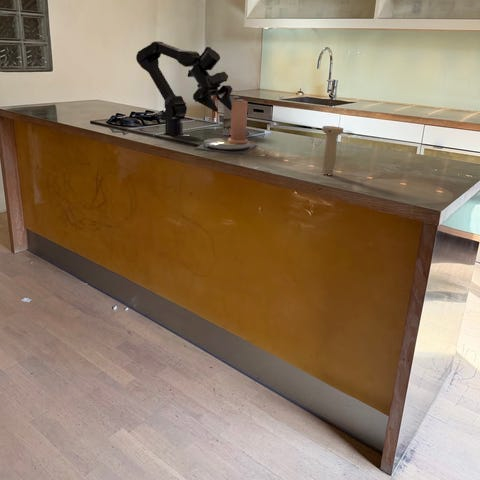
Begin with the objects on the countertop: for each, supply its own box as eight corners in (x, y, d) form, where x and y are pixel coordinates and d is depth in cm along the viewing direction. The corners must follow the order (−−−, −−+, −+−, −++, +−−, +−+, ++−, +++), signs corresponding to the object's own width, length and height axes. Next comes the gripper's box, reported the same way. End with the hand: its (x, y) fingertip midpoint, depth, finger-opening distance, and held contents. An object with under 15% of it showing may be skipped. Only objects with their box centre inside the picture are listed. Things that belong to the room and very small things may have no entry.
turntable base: (195, 149, 182) (195, 147, 181) (211, 140, 199) (211, 139, 198) (243, 154, 177) (243, 153, 177) (256, 145, 194) (256, 144, 194)
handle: (321, 171, 159) (326, 125, 153) (339, 174, 156) (345, 128, 150) (315, 174, 155) (320, 127, 149) (333, 177, 152) (339, 129, 146)
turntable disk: (197, 146, 182) (197, 144, 181) (212, 138, 198) (212, 136, 197) (242, 151, 177) (242, 149, 177) (255, 143, 193) (255, 140, 193)
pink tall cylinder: (225, 142, 186) (227, 99, 180) (231, 139, 193) (233, 98, 187) (244, 144, 185) (246, 101, 179) (249, 141, 191) (252, 99, 185)
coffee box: (236, 136, 211) (238, 98, 205) (222, 135, 212) (223, 97, 206) (240, 133, 219) (242, 96, 213) (226, 131, 220) (228, 95, 214)
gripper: (199, 64, 178) (221, 98, 176) (229, 64, 192) (250, 95, 190) (183, 84, 185) (204, 117, 183) (213, 83, 199) (234, 113, 197)
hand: (224, 110), depth 188 cm, fingers open, 9 cm apart
